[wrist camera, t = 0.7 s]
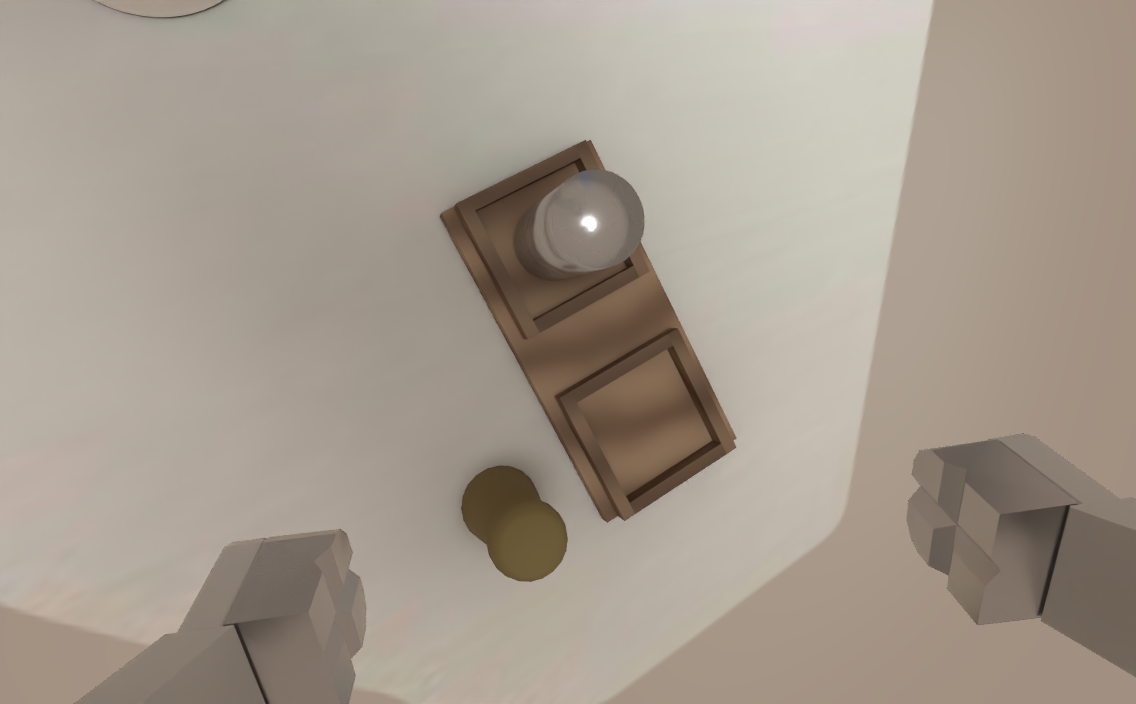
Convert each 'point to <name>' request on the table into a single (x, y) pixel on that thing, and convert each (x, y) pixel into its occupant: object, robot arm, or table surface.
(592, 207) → the steel cylinder
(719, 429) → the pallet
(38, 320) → the table surface
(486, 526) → the cork
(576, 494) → the table surface
